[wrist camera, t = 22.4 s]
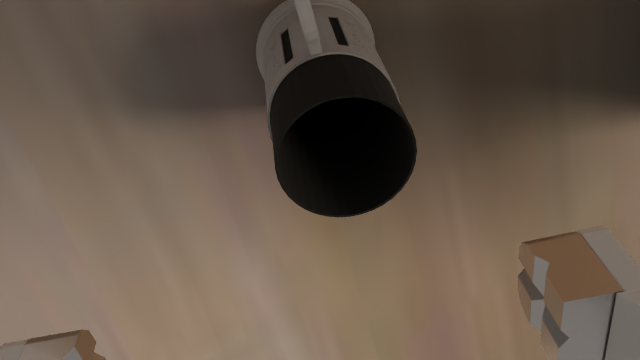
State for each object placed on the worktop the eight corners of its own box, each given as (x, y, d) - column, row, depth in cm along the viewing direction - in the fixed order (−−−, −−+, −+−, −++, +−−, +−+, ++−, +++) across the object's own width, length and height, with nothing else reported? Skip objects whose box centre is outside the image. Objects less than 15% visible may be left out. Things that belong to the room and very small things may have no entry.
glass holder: (276, 119, 46) (289, 243, 34) (211, -69, 38) (198, 4, 26) (385, 87, 46) (439, 202, 33) (343, -109, 38) (393, -54, 25)
